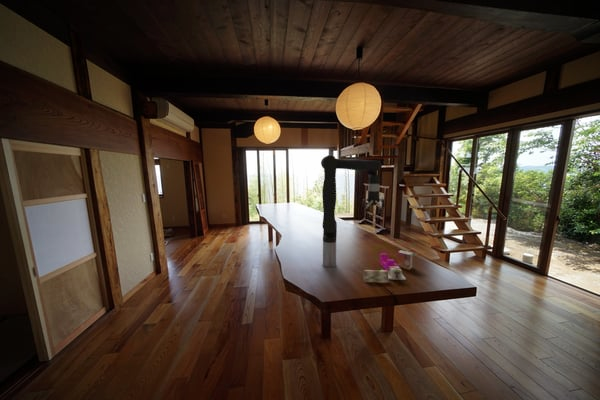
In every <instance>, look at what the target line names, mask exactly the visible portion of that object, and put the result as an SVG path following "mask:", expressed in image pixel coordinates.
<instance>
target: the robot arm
mask: <svg viewBox="0 0 600 400" xmlns="http://www.w3.org/2000/svg"><path fill="white" fill-rule="evenodd" d="M320 165H321V168H323V172H324V178H323V179H324V180H323V184H322V189H321V190H322V196H321V197H322V208H323V216H322V229H323V230H322V231H323V234H322V266H323V267H326V268H335V267H336V266H337V229H338V225H337V224H338V223H337V221H336V215H335V212H336V205H337V180H336V175H337V174H336V173H337V170H338V169H340V170H341V169H342V170H352V171H367V175H368V185H367V198H363V199H362V205H361V206H362V208H364V213H365V214H368V212H369V210H368V208H369V207H370V206H377V207H378V211H377V212H378V214H379V215H380V214H382V209H383V208H384V209H385V199H384V198H380V192H381V191H380V190H381V188H380V187H381V186H380V175H378V174H379V173H378V171H380V170H381V169H382V167H383V165H382V162H381V161H379V160H373V159H372V160H370V159H369V160H367V159H366V160H365V159H354V158H353V159H342V158H336V157H335V156H334V155H333V154H329V155H326V156H324V157H323V158H322V159H321V161H320ZM366 202H367V204H366ZM380 202H381V204H380Z"/></svg>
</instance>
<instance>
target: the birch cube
mask: <svg viewBox="0 0 600 400" xmlns="http://www.w3.org/2000/svg"><path fill="white" fill-rule="evenodd" d="M402 274H403V270H402V268H401V267H398V266H389V276H390V277H391V278H392V279H401V278H402ZM392 279H391V280H392Z"/></svg>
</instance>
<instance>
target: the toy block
mask: <svg viewBox="0 0 600 400" xmlns="http://www.w3.org/2000/svg"><path fill="white" fill-rule="evenodd" d="M380 265H381V266H382V268H384V270H387V271H388V272H389V266H398V265H397V263H396V262H395V260H394V259H393V258H388V254H387V253H386V252H385V253H383V252H382V253H380Z"/></svg>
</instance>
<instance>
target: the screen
mask: <svg viewBox="0 0 600 400" xmlns="http://www.w3.org/2000/svg"><path fill="white" fill-rule="evenodd" d="M388 273H389V272H388V271H380V270H376V269H375V270H374V269H364V270H363V282H364V283H380V284H381V283H382V284H384V283H385V284H390V279H388Z"/></svg>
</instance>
